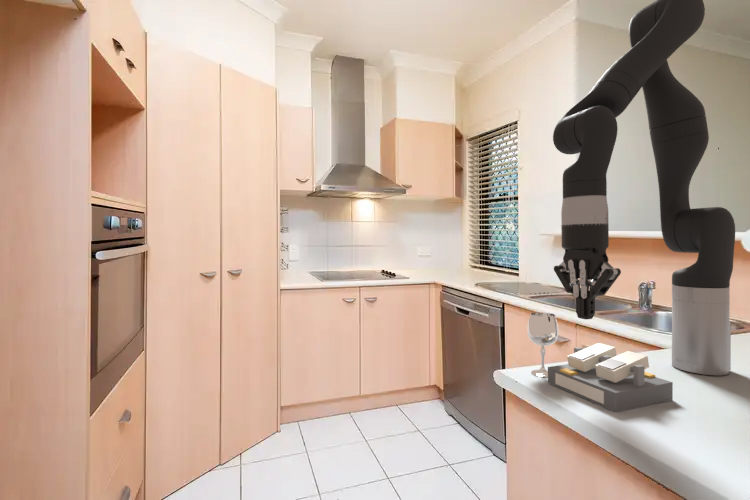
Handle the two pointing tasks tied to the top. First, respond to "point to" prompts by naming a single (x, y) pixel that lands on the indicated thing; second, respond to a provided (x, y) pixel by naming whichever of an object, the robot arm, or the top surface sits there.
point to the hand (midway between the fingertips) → (585, 318)
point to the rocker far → (620, 366)
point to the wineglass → (542, 335)
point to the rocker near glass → (590, 356)
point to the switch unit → (612, 386)
